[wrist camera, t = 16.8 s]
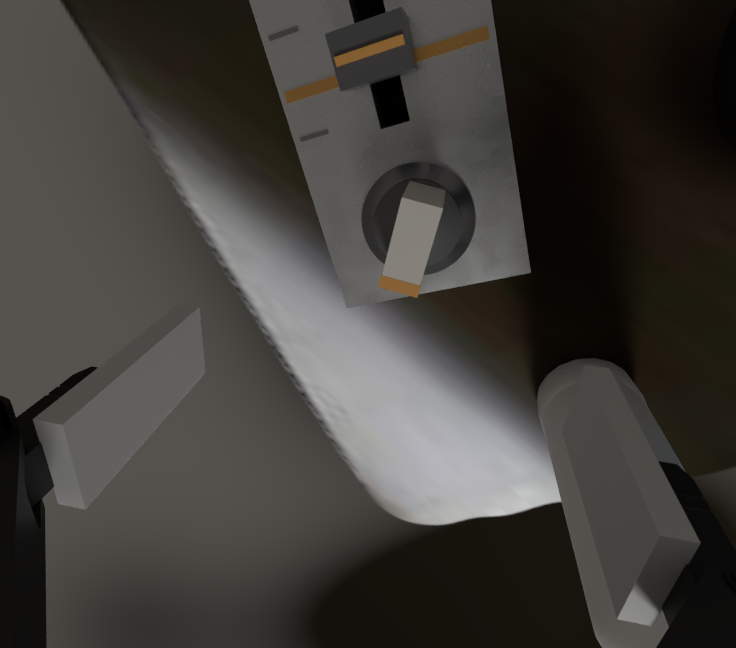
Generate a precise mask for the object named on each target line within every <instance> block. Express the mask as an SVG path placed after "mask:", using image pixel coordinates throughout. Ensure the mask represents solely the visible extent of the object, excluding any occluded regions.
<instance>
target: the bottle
mask: <svg viewBox="0 0 736 648" xmlns="http://www.w3.org/2000/svg"><path fill="white" fill-rule="evenodd" d="M584 365H590V366H597V367H604V368H609V369H610V371H611V373H612V374H613V376H614V378H615V380H616V382H617V384H618V386H619V388H620V390H621V392H622V394H623V395H624V397H625V399H626V401H627V403H628V405H629V407H630V409H631V411H632V413H633V415H634V416H635V418H636V420H637V422H638V424H639V426H640V428H641V430H642V432H643V434H644V436H645V438H646V439H647V441H648V443H649V445H650V447H651V449H652V451H653V453H654V455H655V457H656V459H657V460H658V461H661V462H667V463H673V464H677V465H678V466H679V467H681V468H682V469H683V470H684V468H683V467H682V465H681V463H680V461H679V460H678V458H677V456H676V455H675V453H674V451H673V449H672V448H671V446H670V444H669V443H668V441H667V439H666V437H665V436H664V434H663V432H662V431H661V429H660V427H659V426H658V424H657V422H656V420H655V419H654V417H653V415H652V414H651V412H650V410H649V408H648V407H647V404H646V401H645V399H644V397H643V395H642V394H641V392H640V391H639V389H638V388H637V387H636V385H635V384H634V383H633V381H632V380H631V378H630V377H629V376H628V374H627V373H626V372H625V370H623V369H622V368H620V367H619V366H617V365H615V364H614V363H612V362H610V361H605V360H600V359H596V358H588V359H576V360H573V361H570V362H567V363H565V364H562V365H560V366H558V367H557V368H556V369H554V370H553V371H552V372H550V373H549V374H548V375H547V376H546V377H545V379H544V380H543V382H542V383H541V385H540V386H539V390H538V395H537V404H538V414H539V418H540V421H541V425H542V429H543V432H544V435H545V436H546V440H547V444H548V448H549V452H550V456H551V460H552V464H553V468H554V472H555V476H556V480H557V484H558V489H559V493H560V497H561V501H562V505H563V509H564V512H565V517H566V521H567V525H568V529H569V533H570V537H571V540H572V545H573V549H574V553H575V557H576V561H577V565H578V569H579V573H580V577H581V581H582V585H583V588H584V593H585V597H586V601H587V605H588V609H589V613H590V617H591V621H592V624H593V628H594V632H595V635H596V638H597V639H598V641H599V643H600V645H601V646H602V648H656V647H657V645H658V644H659V642H660V641H661V639H662V637H663V636H664V634H665V633H666V631H667V629H668V628H669V626H668V624H667V621H666V618H665V616H664V613H663V610H662V611H661V613H660V614H659V616H658V618H657V619H656V621H655V623H654V625H653V626H648V625H643V624H638V623H633V622H629V621H624V620H619V619H617V618H616V614H615V611H614V607H613V604H612V601H611V597H610V594H609V590H608V587H607V584H606V580H605V577H604V573H603V570H602V566H601V563H600V560H599V556H598V553H597V549H596V546H595V543H594V539H593V536H592V532H591V529H590V526H589V522H588V519H587V515H586V512H585V508H584V505H583V502H582V498H581V495H580V491H579V488H578V485H577V481H576V478H575V474H574V471H573V467H572V464H571V461H570V457H569V454H568V450H567V447H566V444H565V440H564V437H563V433H562V431H563V428H564V425H565V422H566V419H567V416H568V413H569V410H570V407H571V404H572V401H573V398H574V395H575V392H576V389H577V386H578V383H579V380H580V377H581V374H582V371H583V368H584ZM684 471H685V470H684Z"/></svg>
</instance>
